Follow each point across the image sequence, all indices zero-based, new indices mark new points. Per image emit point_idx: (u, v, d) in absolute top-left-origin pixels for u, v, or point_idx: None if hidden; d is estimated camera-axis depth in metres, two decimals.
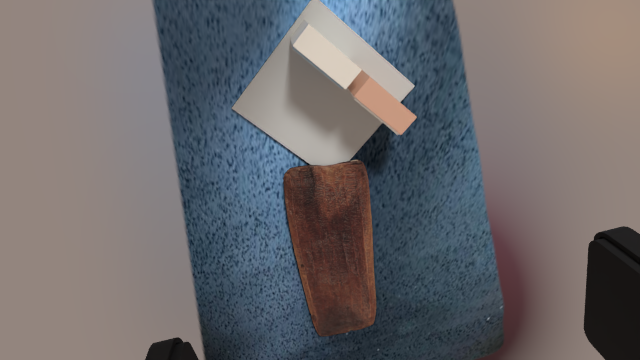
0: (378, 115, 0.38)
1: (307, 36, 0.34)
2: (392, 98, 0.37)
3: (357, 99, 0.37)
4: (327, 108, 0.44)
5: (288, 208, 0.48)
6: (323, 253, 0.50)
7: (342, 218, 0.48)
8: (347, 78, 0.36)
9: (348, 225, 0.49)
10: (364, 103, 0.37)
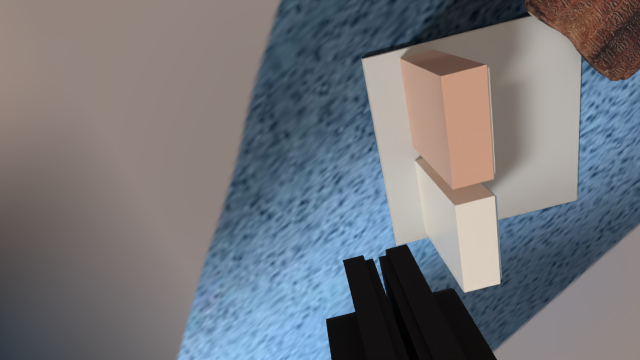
0: (488, 125, 0.20)
1: (477, 282, 0.24)
2: (450, 136, 0.20)
3: (492, 170, 0.21)
4: None
5: None
6: None
7: None
8: (480, 207, 0.22)
9: None
10: (489, 158, 0.21)
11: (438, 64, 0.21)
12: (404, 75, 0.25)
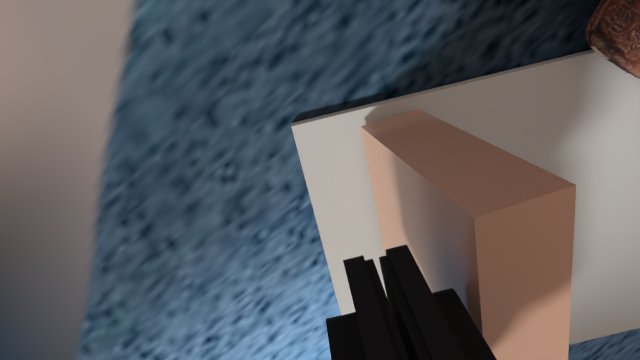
0: (565, 300, 0.09)
1: None
2: (488, 333, 0.09)
3: None
4: None
5: None
6: None
7: None
8: None
9: None
10: (562, 356, 0.10)
11: (446, 161, 0.10)
12: (370, 157, 0.14)
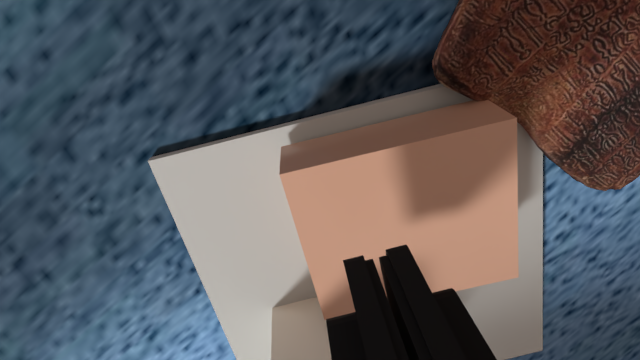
0: None
1: None
2: None
3: None
4: None
5: None
6: None
7: None
8: None
9: None
10: None
11: (418, 129, 0.12)
12: (304, 199, 0.12)
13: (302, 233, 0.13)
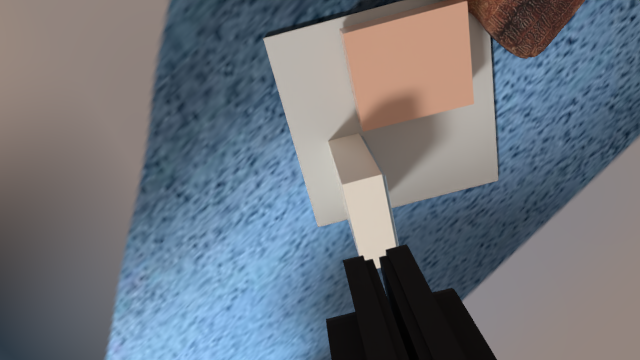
0: None
1: (375, 261, 0.24)
2: (469, 56, 0.24)
3: None
4: None
5: None
6: None
7: None
8: (368, 186, 0.22)
9: None
10: None
11: (416, 11, 0.23)
12: (355, 49, 0.23)
13: (353, 71, 0.24)
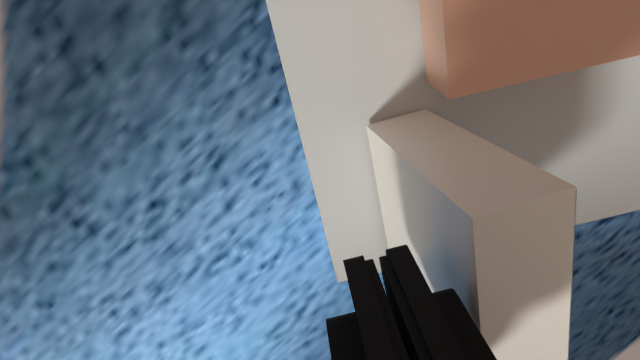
0: None
1: None
2: None
3: None
4: None
5: None
6: None
7: None
8: (537, 221, 0.08)
9: None
10: None
11: None
12: None
13: None
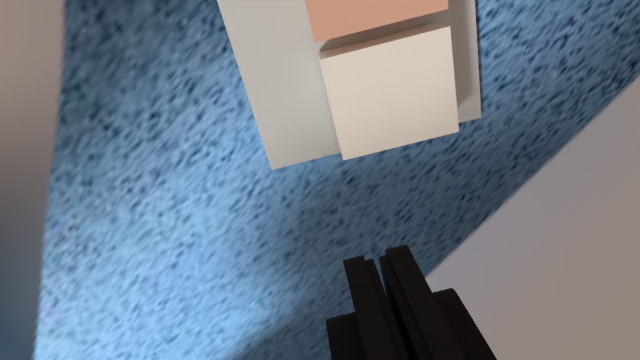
0: None
1: None
2: None
3: None
4: None
5: None
6: None
7: None
8: None
9: None
10: None
11: None
12: None
13: None
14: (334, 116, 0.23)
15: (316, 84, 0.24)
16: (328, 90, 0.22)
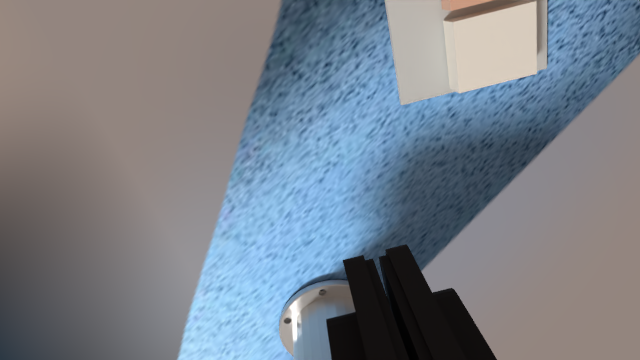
0: None
1: None
2: None
3: None
4: None
5: None
6: None
7: None
8: None
9: None
10: None
11: None
12: None
13: None
14: (457, 61, 0.35)
15: (439, 43, 0.36)
16: (455, 43, 0.34)
